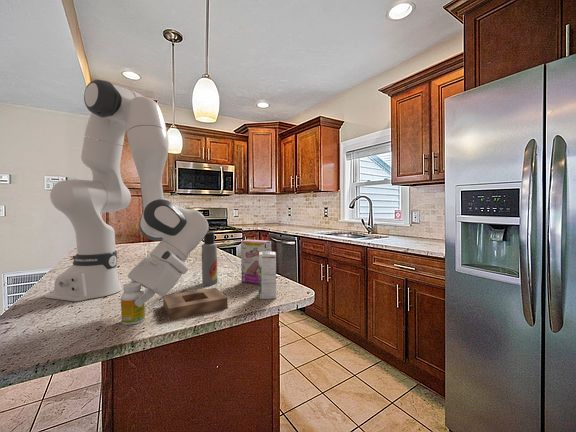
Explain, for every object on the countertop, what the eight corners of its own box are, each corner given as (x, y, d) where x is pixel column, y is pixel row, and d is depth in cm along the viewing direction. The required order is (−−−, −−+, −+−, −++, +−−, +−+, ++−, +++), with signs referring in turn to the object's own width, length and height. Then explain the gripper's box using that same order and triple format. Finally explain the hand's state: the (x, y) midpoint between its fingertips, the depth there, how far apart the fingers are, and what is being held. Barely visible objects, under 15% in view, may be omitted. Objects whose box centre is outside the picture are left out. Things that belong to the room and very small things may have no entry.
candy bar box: (240, 282, 109) (240, 240, 109) (247, 279, 114) (247, 239, 113) (266, 285, 105) (265, 242, 104) (272, 282, 109) (271, 240, 109)
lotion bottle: (220, 282, 110) (219, 231, 109) (209, 286, 105) (208, 232, 104) (210, 280, 113) (209, 230, 112) (199, 283, 108) (197, 232, 107)
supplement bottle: (134, 326, 71) (133, 288, 70) (116, 324, 72) (115, 287, 72) (149, 317, 76) (148, 282, 76) (132, 316, 77) (131, 281, 77)
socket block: (169, 319, 75) (168, 308, 74) (163, 305, 85) (163, 296, 85) (227, 307, 83) (227, 297, 83) (215, 296, 93) (215, 287, 93)
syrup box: (258, 293, 95) (258, 251, 95) (276, 293, 96) (275, 251, 95) (258, 299, 90) (257, 254, 89) (276, 298, 90) (276, 254, 90)
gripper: (144, 248, 85) (108, 286, 79) (174, 256, 71) (134, 304, 65) (159, 260, 89) (126, 298, 82) (191, 270, 75) (154, 317, 68)
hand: (130, 301), depth 73 cm, fingers open, 8 cm apart
